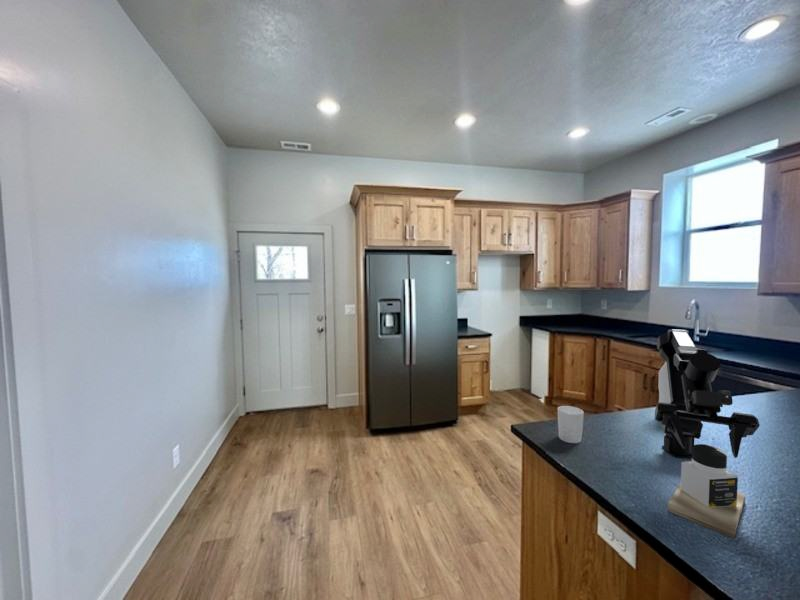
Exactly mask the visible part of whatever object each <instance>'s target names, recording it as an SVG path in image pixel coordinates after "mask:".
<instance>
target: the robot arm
mask: <svg viewBox="0 0 800 600" xmlns="http://www.w3.org/2000/svg"><path fill="white" fill-rule="evenodd" d="M691 337H692V336H690V332H689V330H687V329H679V328H678V329H674V328H672V329H668V330H667V332H665V333H662V334H659V336H658V337H657V340H656V348H657V350H659V356H660V357H661V358H662V359H663V360H664V362H665V361H666V362H667V371H668V380H669V390H670V399H671V403H670V404H669V403H661V402H659V401H658V403H656V405H655V409H654V421H657V422H661V429H662V431H663V433H664V434H665V435H663V445H661V448H662V449H664V450H665V451H666V452H667V453H669V454H670V455H671V456H672V457H675V458H686V459H692V447H693V446H694V445H695V439H698V440H700V438H701V436H702V430H703V426H704V424H703V423H708V424H709V423H711V424H717V425H721V426H722V425H723V426H728V430H729V432H728V437H729V442H730V449H731V452H732V453H731V454H732V455H733V458H735V459H737V458H738V457H739V451H740V447H741V444H742V439H743V438H747V437H748V436H753V435H754V434H755V432H756V431H757V430H758V428H759V427H760V421H759V419H758V418H757V417H756V416H755V415H754V414H749V413H744V412H743V413H741V412H735V411H733V412H732V414H731V416H729V417H728V416H724V415H723V416H722V415H718V414H720V413H721V411H722V410H721V408H723V407H724V406H731V405H733V396H732V393H731V390H718V391H713V388H712V384H711V383H713V382H714V380H715V378H716V376H717V374H718V372H719V371H720V370H719V369H720V367H721V365H722V363H721V361H720V359H719V358H718V357H716V356H715V355H713V354H711V353H708V352H709V351H708V349H702V348H699V347H696V344H695V343H694V341H693V340H692V338H691ZM702 422H703V423H702Z"/></svg>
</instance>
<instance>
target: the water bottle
mask: <svg viewBox="0 0 800 600" xmlns="http://www.w3.org/2000/svg"><path fill="white" fill-rule="evenodd" d="M657 386H658V387H657V388H658V394H659V396H658V403H659V402H661V403H669V404H670V403H671V399H670V390H669V380H668V371H667V362H666V361H665V360H664V364H663V365H662V366H661V368H660V369H659V370H658V385H657Z"/></svg>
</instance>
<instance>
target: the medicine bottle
mask: <svg viewBox="0 0 800 600" xmlns="http://www.w3.org/2000/svg"><path fill="white" fill-rule="evenodd" d="M680 465H681V467H680V469H681V470H680V483H681V490H682V491H683V492H685V493H686V494H688V495H690V496H691V497H693V498H694V499H696V500H697V501H699V502H700V503H702V504H703V505H705V506H706V507H708V508H718V507H731V506H737V492H738V485H739V484H738V483H739V477H738V475H736V474H735V473H733V472H731V471H728V470H727V469H728V468H727V467H728V455H727V453H726V452H725V451H724V450H722V449H720V448H718V447H716V446H713V445H710V444H702V443H700V444H699V443H697V444H694V446H693V447H692V458H691V460H690V461H682V462H681V463H680Z"/></svg>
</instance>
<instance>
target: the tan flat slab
mask: <svg viewBox="0 0 800 600" xmlns="http://www.w3.org/2000/svg"><path fill="white" fill-rule="evenodd" d="M667 502H668V503H667V511H668V512H669V513H672V514H675V515H676V516H679V517H681V518H684V519H686V520H689V521H691V522H694V523H696V524H699V525H701V526H703V527H706V528H708V529H711V530H713V531H716V532H718V533H720V534H722V535H724V536H725V535H726V536H727V535H728V536H727V537H730V538H732V539H735V538H736V531H737V527H738V524H739V521H740V518H741V514H742V511H743V507H744V506H745V504H746V494H745V493H743V492H740V491H737V506H731V507H718V508H708V507H706V506H705V505H703V504H702V503H700V502H699V501H697V500H696V499H694V498H693V497H691V496H690V495H688V494H686V493H685V492H683V491H682V490H681V482H680V483H679V485H678V486H677V488H676V490H675V491H674V492H673V494H672V496H671V498H670V499H669V501H667Z"/></svg>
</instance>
